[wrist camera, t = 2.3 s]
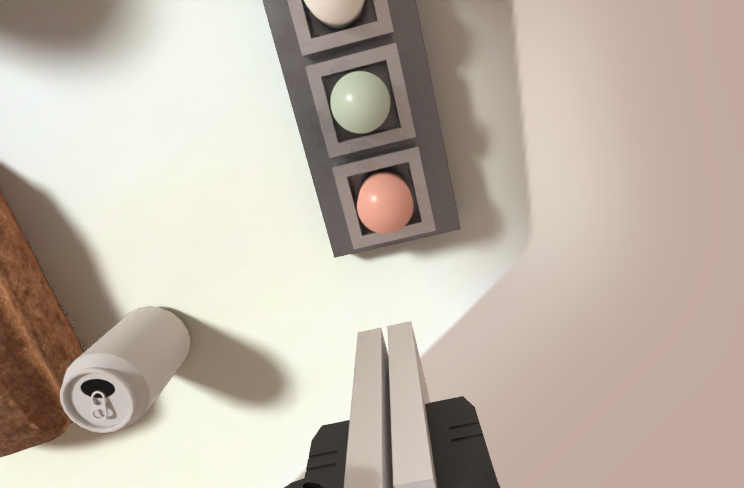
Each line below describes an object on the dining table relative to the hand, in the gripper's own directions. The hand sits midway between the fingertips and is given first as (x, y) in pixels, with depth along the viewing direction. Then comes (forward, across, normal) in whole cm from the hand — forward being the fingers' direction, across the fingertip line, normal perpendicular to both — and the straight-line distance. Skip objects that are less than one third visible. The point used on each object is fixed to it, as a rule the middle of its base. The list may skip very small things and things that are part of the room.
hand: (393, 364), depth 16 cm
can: (+33, -27, -10) cm, 44 cm away
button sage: (+28, 0, +8) cm, 29 cm away
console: (+32, 0, +8) cm, 33 cm away
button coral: (+28, 0, 0) cm, 28 cm away
